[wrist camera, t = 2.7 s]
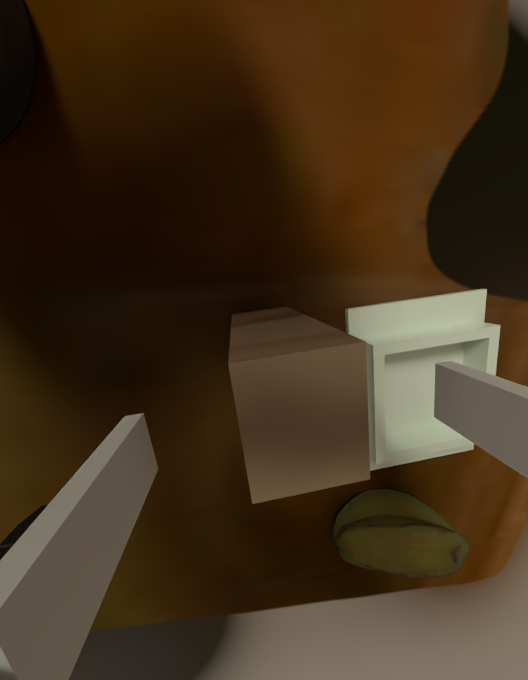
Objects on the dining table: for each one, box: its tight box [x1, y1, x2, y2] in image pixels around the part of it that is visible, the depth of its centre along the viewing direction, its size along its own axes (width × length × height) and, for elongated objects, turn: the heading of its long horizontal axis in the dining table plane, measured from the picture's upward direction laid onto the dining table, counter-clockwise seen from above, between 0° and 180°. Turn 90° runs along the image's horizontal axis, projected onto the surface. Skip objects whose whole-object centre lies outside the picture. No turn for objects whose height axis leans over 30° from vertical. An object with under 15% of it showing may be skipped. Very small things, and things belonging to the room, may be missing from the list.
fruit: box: [332, 489, 469, 578], centre depth 26 cm, size 11×12×7 cm
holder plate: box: [345, 289, 500, 471], centre depth 24 cm, size 18×14×3 cm
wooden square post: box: [228, 307, 370, 504], centre depth 16 cm, size 6×5×14 cm
